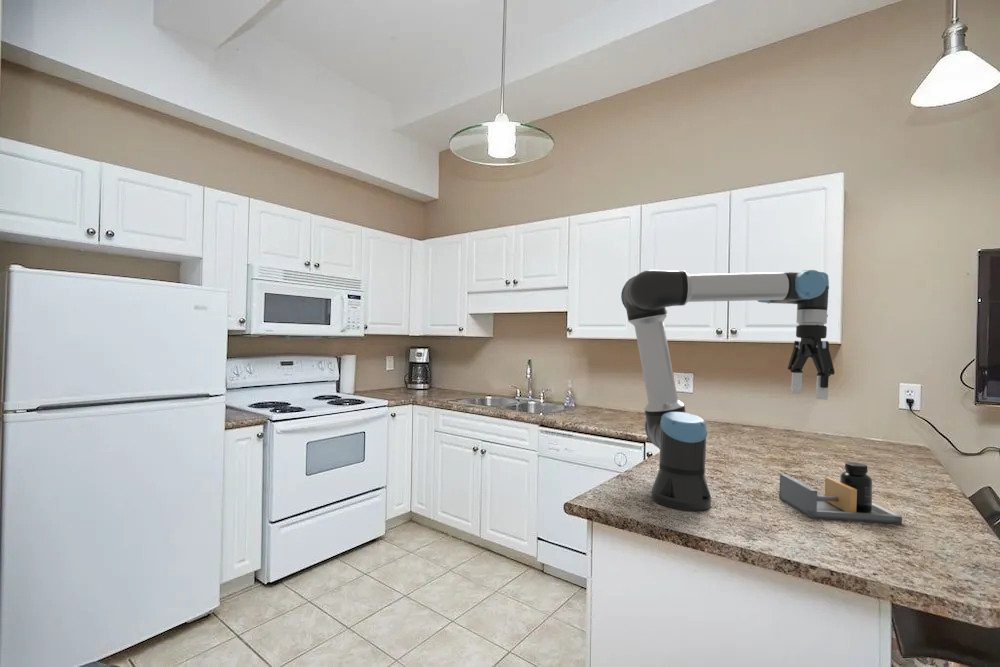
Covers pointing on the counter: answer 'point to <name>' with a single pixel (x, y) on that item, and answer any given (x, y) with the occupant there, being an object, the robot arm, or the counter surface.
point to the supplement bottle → (859, 485)
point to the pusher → (839, 495)
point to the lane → (827, 504)
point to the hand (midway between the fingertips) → (808, 396)
